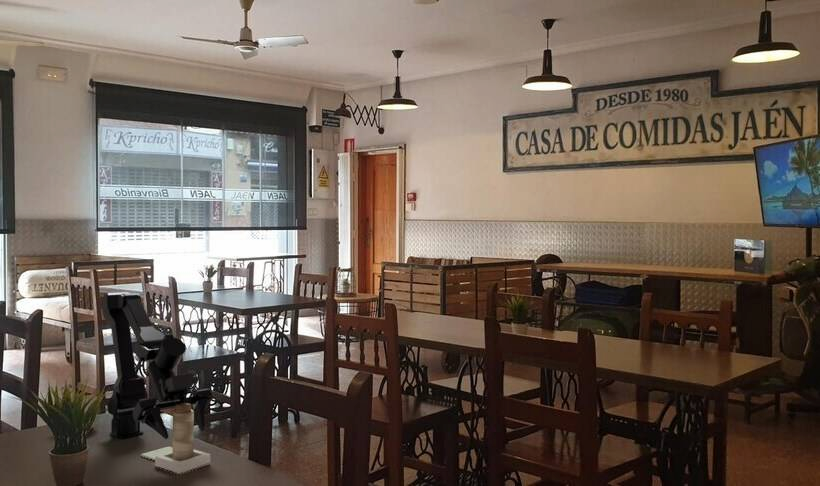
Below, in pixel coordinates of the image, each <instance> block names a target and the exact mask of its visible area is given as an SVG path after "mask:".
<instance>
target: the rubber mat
mask: <svg viewBox="0 0 820 486" xmlns="http://www.w3.org/2000/svg"><path fill="white" fill-rule="evenodd" d="M171 451H172V446H166V447H165V446H164V447H162V448H158V449H155V450H152V451H151V450H150V451H148V452H144V453H141V454H140V457H141V456H142V457H141V458H144V457H145V458H144V459H147V458H148V459H147V460H150V459H152V460H151V461H153V460H155V456H157V455H161V454H164V453H168V452H171Z"/></svg>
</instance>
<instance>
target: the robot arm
mask: <svg viewBox="0 0 820 486" xmlns="http://www.w3.org/2000/svg"><path fill="white" fill-rule="evenodd" d="M99 307H100V309H101V311H102V317H103V318H104V319H105V321H106V322H107V323H108V324H109V325H110V328H111V330H110V331H111V337H112V344H113V345H112V346H113V352H114V360H115V367H116V377H117V378H116V379H115V382H114V384H113V386H112V395H111V396H110V398H109V401H108V402H107V405H106V409H107V413H108V414H110V415H112V418H111V424H110V426H111V431H110V432H109V436H113V437H116V438H119V439H123V440H125V439H127V438H131V437H132V438H133V437H134V436H139V435H143V434H144V431H142V430H141V424H146V425H147V426H148V427H149V428H151V429H153V431H155V432H156V433H157V434H159V435H160V436H161V437H162V438H164V439H165V440H167V439H168V438H169V433H168V430H167V428H166V424H165V423H164V420H163V417H162V415H161V411H164V410H170V409H175V406H176V405H177V404H181V403H189V404H191V410H193V411H194V422H195V423H196V425H197V427H198V429H199V430H200V431H201V433H202V432H204V431H205V428H206V427H205V425H206V423H205V418H206V417H205V413H206V412H205V411H206V409H208V406H209V405H210V403H211V402H212V401H213V399H214V397H215V395H214V393H213V391H212V389H211V388H204V389H203V388H202V389H196V390H195V391H194V392H193V394H192V396H187V397H185V395H187V394H188V393H189V390H188V389H190V388H193V386H194V385H196V384H198V382H199V378H198V375H197V373H196V371H195V370H189V371H187V372H186V373H184V374H180V375H179V374H177V375H176V373H175V370H174V369H175V368H176V367H177V366H179V363H180V361H181V359H182V357H183V356H184V355H185V354H184V353H186V350H187V347H186V346H187V345H186V344H185V343H184V342H183V340H181V339H179V338H176V337H174V336H175V335H174V334H173V333H171V334H165V335H164V334H163V333H162V332H161V331H159V330H157V329H156V328H155V327H154V325H153V323H152V320H150V317H149V315H148V314H147V311H146V310H145V307H144V305H143V303H142V298H141V295H140V294H139V293H137V292H129V291H114V292H105V293H104V294H103V296H101V297H100V298H99ZM131 329H132V330H131ZM131 331H132V332H133V334H134V336H135V338H136V343H135V345H134V347H133V341H132V333H131ZM134 349H135V355H136V357H137V358H138V360H139V361H140V362H144V363H145V362H150V363H149V364H148V365H147V368H146V371H145V375H146V377H150V380H151V383H152V386H153V388H154V389H153V391H152V393H153V396H152V397H149V394H148V391H147V390H146V383H145V382H146V381H145V379H144V378H143V377H140V376H139V375H138V374H137V370H136V362H135V356H134ZM154 396H157V398H158V400H159V401H157V398H156V397H154Z"/></svg>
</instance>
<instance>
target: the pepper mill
mask: <svg viewBox="0 0 820 486" xmlns="http://www.w3.org/2000/svg"><path fill="white" fill-rule="evenodd" d="M174 409H175V410H174V411H172V446H171V447H172V459H174V460H177V461H183V460H187V459H190V458H193V449H195V448H194V439H195V438H194V433H195V432H194V427H195V425H194V424H195V423H194V422H195V419H194V411H193V410H192V409H191V404H189V403H181V404H177V405H176V406H175V408H174Z"/></svg>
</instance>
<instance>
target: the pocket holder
mask: <svg viewBox="0 0 820 486" xmlns="http://www.w3.org/2000/svg"><path fill="white" fill-rule="evenodd" d="M209 462H210V463H211V454H210V453H208V452H204V451H201V450H197V449H195V448H193V458H190V459H187V460H183V461H177V460H174V459H172V451H171V452H168V453H164V454H161V455H157V456H155V461H154V466H158V467H161V468H165V469H169V470H172V471H174V472H177V473H180V472H183V471H186V470H189V469H192V468H195V467H197V466H200V465H203V464H206V463H209ZM158 467H157V468H158ZM161 468H160V469H161Z"/></svg>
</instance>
